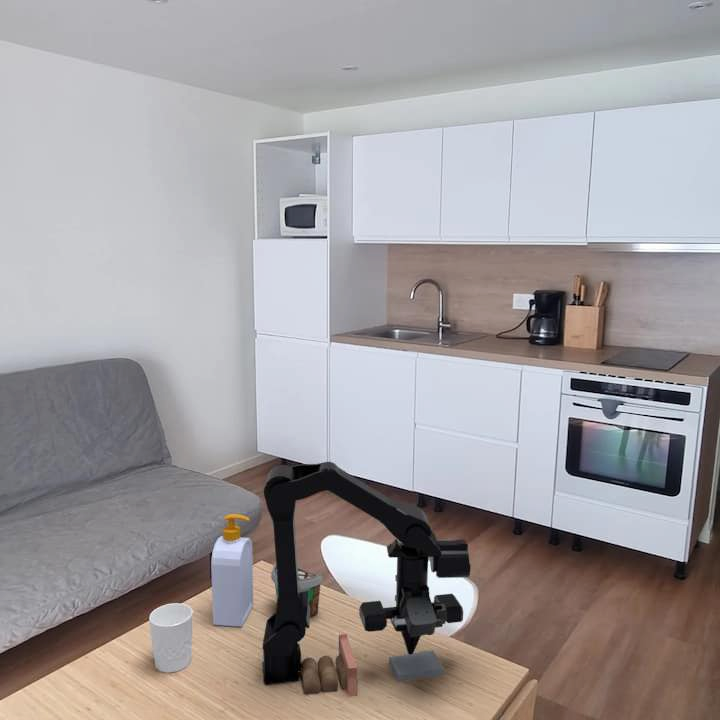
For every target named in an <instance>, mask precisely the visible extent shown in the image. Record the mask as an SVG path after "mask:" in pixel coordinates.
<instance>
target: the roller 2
mask: <svg viewBox="0 0 720 720" xmlns="http://www.w3.org/2000/svg"><path fill="white" fill-rule="evenodd" d="M316 662H317V667H318V673H319V678H320V684H321V689H322V691H323V692H324V693H331V692H336V691H337V690H338V688H339V681H338V677H337V672H336V668H335V664H334V660H333V658H332V657H331V656H329V655H323V656H321V657H320V658H319V659H318V660H317V661H316Z"/></svg>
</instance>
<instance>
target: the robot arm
mask: <svg viewBox="0 0 720 720" xmlns="http://www.w3.org/2000/svg"><path fill="white" fill-rule="evenodd" d="M264 484H265V485H264V487H263V497H264V501H265V504H266V508H267V511H268V514H269V516H270V519H271V521H272V526H273V536H274V537H273V538H274V552H275V563H276V568H277V582H278V601H277V600H276V610H275V612H274V613H273V614H271V616H270V617H268V618H267V620H266V621H265V629H264V634H263V638H262V646H261V647H262V657H263V659H262V660H263V661H262V662H261V663H262V675H263V676H262V677H263V683H264V685H268V686H269V685H275V684H276V685H277V684H283V683H291V682H298V681H300V677H301V676H300V673H299V672H302V670H301V663H302V649H301V646H300V643H299V642H300V641H301V640H302V639H304V638H305V636H306V630H307V629H310V621H311V618H310V606H309V604H308V598H309V591H304V592H302V591H301V589H300V586H299V581H298V569H299V567H298V556H297V555H298V554H297V553H298V552H297V537H296V523H295V522H296V521H295V513H296V512H295V511H296V502H297V501H300V500H304V499H307V498H309V497H311V496H314V495H317V494H318V493H320V492H326V491H328V492H331V493H332V494H334V495H335V496H337V497H338V498H340V499H342V500H344V501H345V502H347V503H348V504H350V505H352V506H353V507H355V508H357V509H359V510H360V511H362V512H363V513H366V515H368V516H370V517H372V518H374V519H375V520H377V521H378V522H380V523H381V525H383V526H384V527H385V528H386V529H387V530H388V531H389V532H390V533H391V535H392V536H394V541H392V542H391V543H389V544H388V545H386V550H387V551H386V552H387V556H388V558H389V559H390V558H396V575H395V576H394V577H395V582H396V587H395V588H396V590H395V591H396V593H395V595H394V601H395V606H389V607H384V606H383V603H382V602H381V600H375V601H374V600H372V601H365V602H362V603H361V604H360V606H359V613H358V614H359V617H360V621H361V622H362V625H363V629H364V631H366V632H368V633H370V632H377V631H378V632H379V631H384V630H385V628H386V627H387V626H388V620H390V622H391V625H392V627H393V629H394V630H395V632H397V633H398V632H399V633H401V637H402V641H403V643H404V646H405V649H406V652H407V654H409V655H410V654H413V653H414V652H415V650H416V648H417V645H418V643H419V641H420V638H421V637H422V636H425V635H426V636H427V635H428V636H432V635H434V634H435V632H436V628H442V627H443V625H445V624H446V623H448V624H454V623H461V622H463V620H464V609H463V606H462V604H461V603H460V601H459V600H458V599H457V597H456V596H455V595H454V594H453V593H444V594H435V595H434V597H433V601H432V599H431V597H430V587H429V586H428V580H429V579H428V578H429V577H428V576H429V575H428V574H429V571H428V570H429V562H430V571H431V573H435V575H436V578H437V579H446V578H447V579H451V578H452V579H454V578H458V579H459V578H462V579H463V578H466V579H467V578H470V576H471V562H470V555H469V543H467V540H466V539H456V540H438V539H437V536H436V534H435V532H433V531H432V529H431V526H430V523H429V521H428V518H427V515H426V513H425V512H424V510H423V509H421V508H420V507H417V506H415V505H413V504H410V503H408V502H405V501H400V500H395V499H392V498H390V497H388V496H387V495H384V494H383V493H381V492H379V491H378V490H376V489H374V488H373V487H371V486H370V485H368V484H366V483H364V482H363V481H362V480H360V479H358V478H356V477H355V476H354V475H351V474H350V473H348V472H347V471H345V470H344V469H342V468H340V467H339V466H337V464H336V463H335V462H333V461H325V462H319V463H302V464H296V465H292V466H290V465H286V464H280V465H275V466H274V467H272V468H271V470H270V471H268V474H267V477H266V480H265V483H264Z"/></svg>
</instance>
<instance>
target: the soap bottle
mask: <svg viewBox="0 0 720 720" xmlns="http://www.w3.org/2000/svg"><path fill="white" fill-rule="evenodd" d="M235 520H242V521H244V522H249V521H250V518H249V517H247V516H245V515H242V514H237V513H230V514H226V516H225V517H224V518H223V519H222V521H223V522H225V521H227V522H228V524H227V526H224V527H223V528H222V534H223V535H221V536H220V537H219V538H217V539H216V542H215V543H214V547H213V550H212V554H211V563H210V566H211V569H210V570H211V595H212V596H211V599H212V600H211V601H212V624H213V626H223V627H224V626H225V627H235V628H236V627H238V628H242V627H243V626H244V624H245V622H246V620H247V619H248V616H249V614H250V613H251V611H252V609H253V606H254V580H253V579H254V576H253V575H254V574H253V572H254V569H253V568H254V566H253V543H252V540H251V538H249V537H241V527H240V526H238V525H235V524H236V523H235Z"/></svg>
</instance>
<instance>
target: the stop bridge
mask: <svg viewBox="0 0 720 720" xmlns="http://www.w3.org/2000/svg"><path fill="white" fill-rule="evenodd" d="M340 654H342V658H343V661H344V665H345V668H346V672H347V689H346V692H347V695H348V697H353V696H358V683H357V680H358V666H357V663H356V660H355V657H354V654H353V650H352V648H351V644H350V641H349V637H348V634H347V633H343V634H342V633H341V634H338V655H340Z"/></svg>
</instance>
